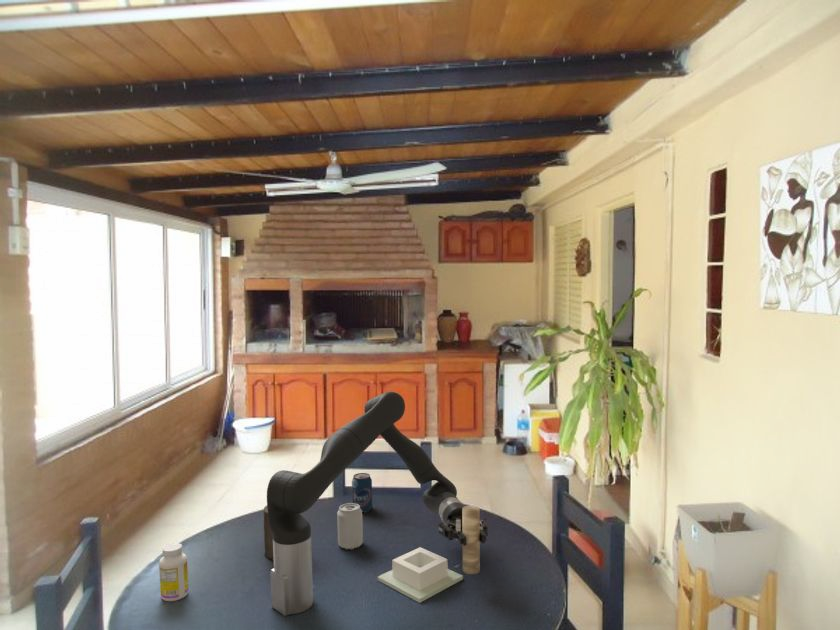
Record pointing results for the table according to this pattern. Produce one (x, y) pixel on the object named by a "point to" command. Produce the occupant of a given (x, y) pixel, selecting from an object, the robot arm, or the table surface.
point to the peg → (471, 539)
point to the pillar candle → (268, 536)
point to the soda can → (362, 491)
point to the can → (350, 526)
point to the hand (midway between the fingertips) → (474, 540)
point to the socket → (420, 574)
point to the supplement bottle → (173, 573)
